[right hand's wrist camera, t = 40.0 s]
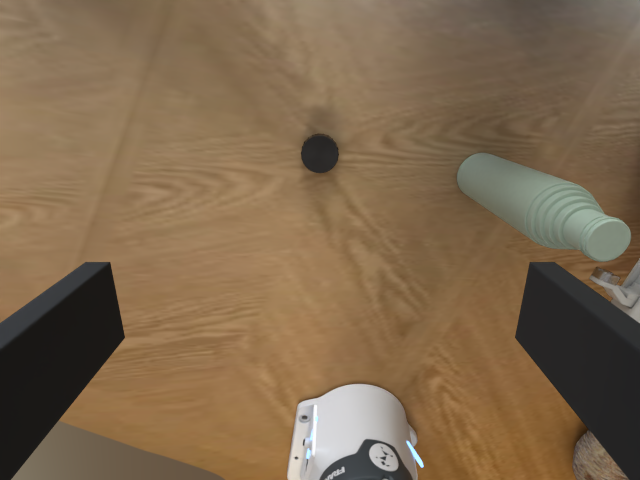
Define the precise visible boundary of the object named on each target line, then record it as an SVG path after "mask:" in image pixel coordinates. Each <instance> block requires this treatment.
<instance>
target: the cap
mask: <svg viewBox="0 0 640 480" xmlns="http://www.w3.org/2000/svg"><path fill="white" fill-rule="evenodd" d="M338 155H339V154H338V147H337V146H336V142H334V140H333V139H332V138H331V137H329V136H327V135H325V134H315V135H312V136H311V137H308V139H307V140H306V141H305V142H304V145H303V146H302V152H301V156H302V161H303V163H304V165H305V166H306V167H307V168H308V169H309V170H311V171H313V172H316V173H324V172H327V171H329V170H331V169H332V168H333V167H334V166H335V164H336V162H337V160H338Z"/></svg>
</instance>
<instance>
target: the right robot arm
mask: <svg viewBox="0 0 640 480" xmlns="http://www.w3.org/2000/svg"><path fill="white" fill-rule="evenodd" d="M124 338H125V336H124V331H123V325H122V320H121V315H120V310H119V305H118V300H117V295H116V290H115V285H114V280H113V275H112V269H111V264H110V262H85V263H84V264H82V265H81V266H80V267H78V268H77V269H75V270H74V271H73V272H71V273H70V274H68V275H67V276H66V277H64V278H63V279H61V280H60V281H59V282H57V283H56V284H54V285H53V286H52V287H50V288H49V289H47V290H46V291H45V292H43V293H42V294H40V295H39V296H38V297H36V298H35V299H33V300H32V301H31V302H29V303H28V304H26V305H25V306H24V307H22V308H21V309H19V310H18V311H17V312H15V313H14V314H12V315H11V316H10V317H8V318H7V319H5V320H4V321H3V322H1V323H0V480H11V479H12V478H13V476H14V475H15V474H16V473H17V471H18V470H19V469H20V468H21V466H22V465H23V464H24V463H25V461H26V460H27V459H28V458H29V456H30V455H31V454H32V453H33V451H34V450H35V449H36V448H37V446H38V445H39V444H40V443H41V441H42V440H43V439H44V438H45V437H46V435H47V434H48V433H49V431H50V430H51V429H52V428H53V427H54V425H55V424H56V423H57V422H58V420H59V419H60V418H61V417H62V415H63V414H64V413H65V412H66V410H67V409H68V408H69V407H70V405H71V404H72V403H73V402H74V400H75V399H76V398H77V397H78V395H79V394H80V393H81V392H82V390H83V389H84V388H85V387H86V385H87V384H88V383H89V382H90V380H91V379H92V378H93V377H94V376H95V374H96V373H97V372H98V371H99V369H100V368H101V367H102V366H103V364H104V363H105V362H106V361H107V359H108V358H109V357H110V356H111V354H112V353H113V352H114V351H115V349H116V348H117V347H118V346H119V344H120V343H121V342H122V341H123V339H124ZM515 338H516V339H517V341H518V342H519V343H520V344H521V346H522V347H523V348H524V349H525V351H526V352H527V353H528V354H529V356H530V357H531V358H532V359H533V361H534V362H535V363H536V364H537V366H538V367H539V368H540V369H541V371H542V372H543V373H544V374H545V376H546V377H547V378H548V379H549V380H550V382H551V383H552V384H553V385H554V387H555V388H556V389H557V390H558V392H559V393H560V394H561V395H562V397H563V398H564V399H565V400H566V402H567V403H568V404H569V405H570V407H571V408H572V409H573V410H574V412H575V413H576V414H577V415H578V417H579V418H580V419H581V420H582V422H583V423H584V424H585V425H586V427H587V428H588V429H589V430H590V432H591V433H592V434H593V435H594V437H595V438H596V439H597V440H598V442H599V443H600V444H601V445H602V446H603V448H604V449H605V450H606V451H607V453H608V454H609V455H610V456H611V458H612V459H613V460H614V461H615V463H616V464H617V465H618V466H619V468H620V469H621V470H622V471H623V473H624V474H625V475H626V476H627V478H628V479H629V480H640V323H639V322H637V321H636V320H635V319H633V318H632V317H630V316H629V315H628V314H626V313H625V312H623V311H622V310H621V309H619V308H618V307H616V306H615V305H614V304H612V303H611V302H609V301H608V300H607V299H605V298H604V297H602V296H601V295H600V294H598V293H597V292H595V291H594V290H593V289H591V288H590V287H588V286H587V285H586V284H584V283H583V282H581V281H580V280H579V279H577V278H576V277H574V276H573V275H572V274H570V273H569V272H567V271H566V270H565V269H563V268H562V267H560V266H559V265H558V264H556V263H555V262H530V264H529V269H528V274H527V280H526V285H525V290H524V295H523V300H522V305H521V310H520V315H519V320H518V325H517V331H516V336H515Z"/></svg>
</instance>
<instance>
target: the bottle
mask: <svg viewBox="0 0 640 480" xmlns="http://www.w3.org/2000/svg"><path fill="white" fill-rule="evenodd" d="M457 183H458V186H459V188H460V190H461V191H462V192H463V193H464V194H466V195H467V196H468V197H470V198H471V199H473V200H474V201H476V202H477V203H479V204H480V205H482V206H483V207H484V208H486V209H487V210H489V211H490V212H492V213H493V214H495V215H496V216H498V217H499V218H501V219H502V220H503V221H505V222H506V223H508V224H509V225H511V226H512V227H514V228H515V229H517V230H518V231H519V232H521V233H522V234H524V235H525V236H527V237H528V238H530V239H531V240H533V241H534V242H536V243H537V244H539V245H542V246H546V247H548V248H553V249H574V250H580V251H582V253H583V254H584V255H586V256H588V257H589V258H591V259H593V260H595V261H600V262H604V261H606V262H607V261H610V260H614V259H616V258H617V257H618V256H620V255H621V254H622V253H623V252H624V251H625V250H626V249H627V247H628V245H629V243H630V240H631V232H630V229H629V227H628V226H627V225H626V224H625V223H624V222H623V221H622V220H620V219H618V218H615V217H610V216H607V215H605V214H604V212H603V211H602V209H601V207H600V206H599V205H598V203H597V201H596V200H595V199H594V197H593V196H592V195H591V194H590V193H589V192H588V191H587V190H585V189H584V188H583V187H581V186H580V185H578V184H575V183H572V182H569V181H566V180H563V179H561V178H558V177H555V176H552V175H549V174H546V173H543V172H540V171H538V170H535V169H532V168H529V167H526V166H523V165H520V164H518V163H515V162H512V161H509V160H506V159H503V158H500V157H497V156H495V155H492V154H489V153H477V154H474V155H471V156H470V157H468V158H467V159H466V160H465V161H464V162H463V163H462V164H461V166H460V167H459V170H458V173H457Z"/></svg>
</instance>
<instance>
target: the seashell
mask: <svg viewBox="0 0 640 480" xmlns="http://www.w3.org/2000/svg"><path fill="white" fill-rule="evenodd" d="M572 467H573V471H574V474H575V476H576V479H577V480H629V479H628V478H627V476H626V475H625V474H624V473H623V471H622V470H621V469H620V468H619V466H618V465H617V464H616V463H615V461H614V460H613V459H612V458H611V456H610V455H609V454H608V453H607V451H606V450H605V449H604V448H603V446H602V445H601V444H600V443H599V442H598V440H597V439H596V438H595V437H594V435H593V434H592V433H591V432H590V431H587V433H585V434H584V435H583V436H581V438H580V439H579V441H578V442H577V443H576V446H575V450H574V456H573V466H572Z"/></svg>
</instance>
